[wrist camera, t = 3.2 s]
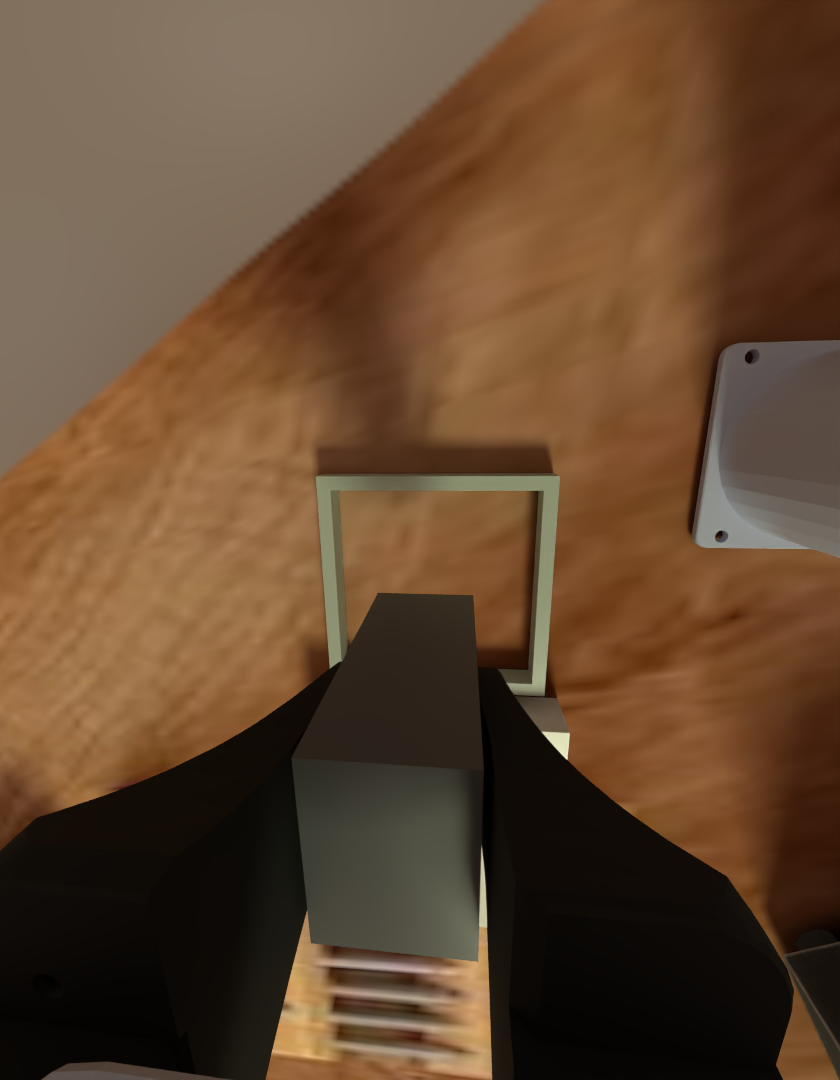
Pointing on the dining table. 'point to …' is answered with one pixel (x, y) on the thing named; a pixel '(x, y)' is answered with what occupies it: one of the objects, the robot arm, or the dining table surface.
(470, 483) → the pale green square frame
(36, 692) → the dining table surface
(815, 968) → the voltmeter
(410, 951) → the plug
